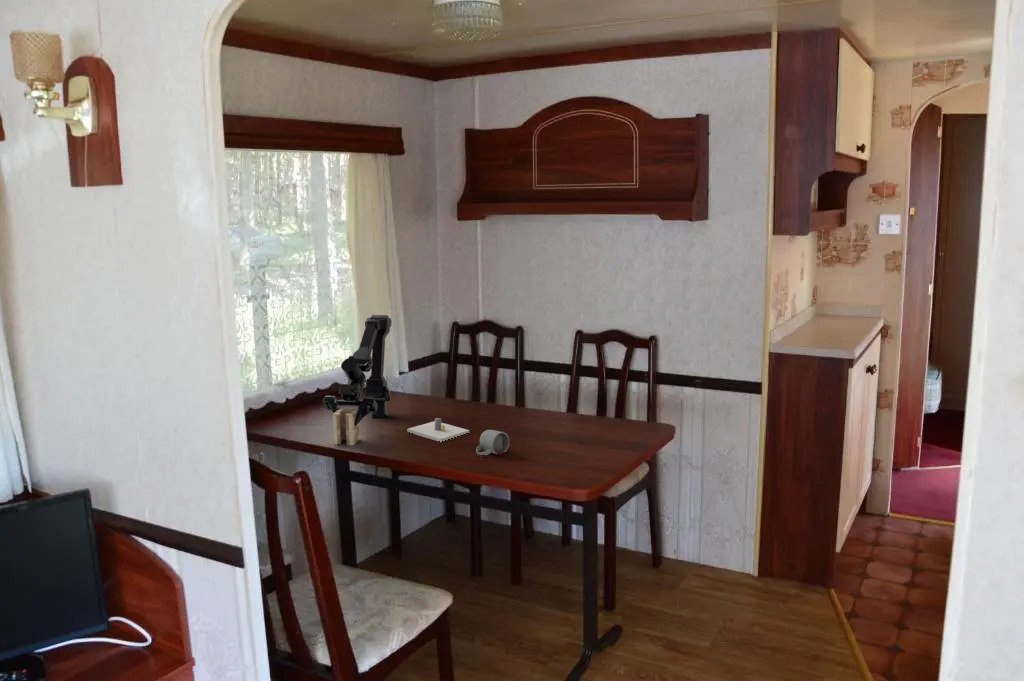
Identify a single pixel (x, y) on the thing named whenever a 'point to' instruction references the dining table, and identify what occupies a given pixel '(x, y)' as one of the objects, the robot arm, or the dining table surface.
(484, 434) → the ceramic mug
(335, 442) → the beech collar
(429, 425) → the post plate
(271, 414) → the dining table surface
